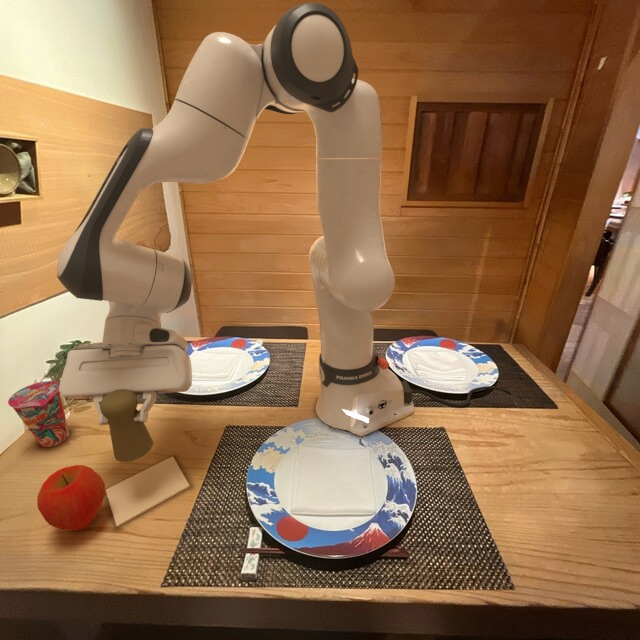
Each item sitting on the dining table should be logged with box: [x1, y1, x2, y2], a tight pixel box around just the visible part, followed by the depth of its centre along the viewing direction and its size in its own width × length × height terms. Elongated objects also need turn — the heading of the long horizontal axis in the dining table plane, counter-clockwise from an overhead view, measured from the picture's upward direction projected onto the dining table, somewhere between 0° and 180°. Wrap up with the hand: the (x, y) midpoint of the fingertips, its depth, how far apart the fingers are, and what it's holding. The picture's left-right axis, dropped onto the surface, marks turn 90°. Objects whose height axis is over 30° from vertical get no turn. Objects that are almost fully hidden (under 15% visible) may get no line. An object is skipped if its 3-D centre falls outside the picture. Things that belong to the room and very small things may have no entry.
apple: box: [36, 464, 106, 531], centre depth 56 cm, size 9×8×11 cm
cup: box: [7, 380, 70, 448], centre depth 74 cm, size 9×8×12 cm
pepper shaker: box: [100, 389, 154, 463], centre depth 58 cm, size 6×6×11 cm
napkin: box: [105, 456, 191, 528], centre depth 64 cm, size 12×9×1 cm
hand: (123, 423), depth 57 cm, fingers closed on pepper shaker, 4 cm apart
